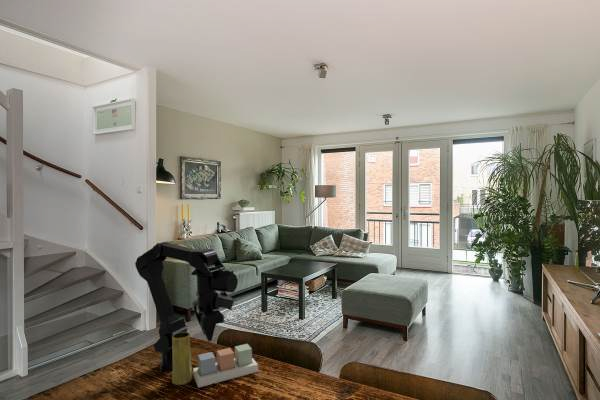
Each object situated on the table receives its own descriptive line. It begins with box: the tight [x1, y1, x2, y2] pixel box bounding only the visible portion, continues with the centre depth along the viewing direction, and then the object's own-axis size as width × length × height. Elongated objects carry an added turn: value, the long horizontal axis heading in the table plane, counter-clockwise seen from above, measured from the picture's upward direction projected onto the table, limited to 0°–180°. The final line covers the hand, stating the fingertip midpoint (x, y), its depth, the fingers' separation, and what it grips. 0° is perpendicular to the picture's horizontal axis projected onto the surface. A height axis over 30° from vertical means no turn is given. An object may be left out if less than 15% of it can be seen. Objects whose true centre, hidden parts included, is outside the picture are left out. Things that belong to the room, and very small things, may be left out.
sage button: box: [234, 343, 253, 367], centre depth 115 cm, size 4×4×5 cm
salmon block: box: [216, 347, 235, 372], centre depth 112 cm, size 4×4×5 cm
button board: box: [192, 357, 259, 388], centre depth 113 cm, size 8×19×2 cm, turn 117°
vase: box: [171, 331, 194, 386], centre depth 109 cm, size 6×6×14 cm
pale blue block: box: [197, 351, 216, 377], centre depth 110 cm, size 4×4×5 cm
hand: (207, 337), depth 112 cm, fingers open, 5 cm apart
